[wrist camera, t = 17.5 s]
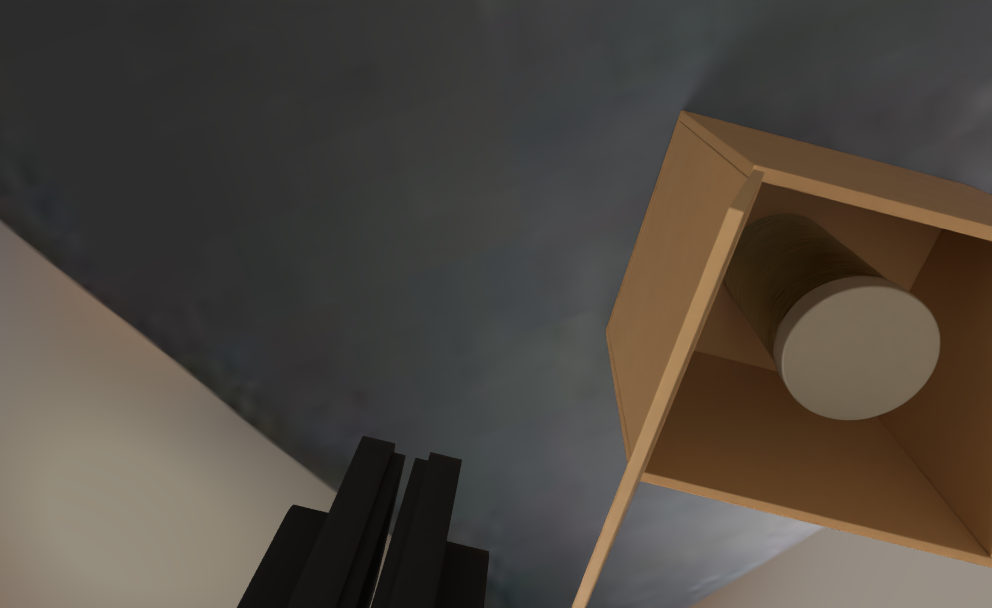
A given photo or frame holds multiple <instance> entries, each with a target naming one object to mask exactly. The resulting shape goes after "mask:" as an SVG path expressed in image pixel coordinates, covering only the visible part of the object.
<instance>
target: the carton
mask: <svg viewBox="0 0 992 608" xmlns="http://www.w3.org/2000/svg"><path fill="white" fill-rule="evenodd" d="M754 169H755V170H759V171H762V172H764V176H763V179H762V181H761V183H760V186H759V188H758V191H757V193H756V196H755V198H754V201H753V203H752V206H751V208H750V211H749V213H748V215H747V218H746V220H745V223H744V225H743V228H742V230H741V233H742V231H743V229H744V228H746V227H747V226H748V225H750V224H752V223H753V222H755V221H757V220H759V219H761V218H764V217H767V216H770V215H775V214H784V213H787V214H796V215H801V216H804V217H807V218H809V219H811V220H813V221H814V222H816V223H817V224H819V225H820V226H821V227H822V228H824V229H825V230H826V231H828V232H829V233H830V234H831V235H833V236H834V237H835V238H836V239H838V240H839V241H840V242H841V243H843V244H844V245H845V246H847V247H848V248H849V249H850V250H852V251H853V252H854V253H855V254H857V255H858V256H859V257H861V258H862V259H863V260H864V261H866V262H867V263H868V264H869V265H871V266H872V267H873V268H874V269H876V270H877V271H878V272H880V273H881V274H882V275H883V276H885V277H886V278H887V279H888V280H890V281H892V282H894V283H896V284H898V285H900V286H902V287H903V288H905V289H906V290H908V291H909V292H910V293H912V294H913V295H914V296H915V297H917V298H918V299H919V300H921V301H922V302H923V303H924V304H925V305H926V306H927V307H928V309H929V310H930V311H931V313H932V314H933V316H934V318H935V320H936V322H937V325H938V328H939V333H940V353H939V358H938V361H937V364H936V367H935V369H934V371H933V373H932V375H931V376H930V378H929V379H928V381H927V382H926V383H925V385H924V386H923V387H922V388H921V389H920V390H919V391H918V392H917V393H916V394H915V395H914V396H913V397H912V398H910V399H909V400H908V401H906V402H905V403H904V404H902V405H900V406H899V407H897V408H895V409H893V410H891V411H889V412H887V413H884V414H881V415H879V416H875V417H871V418H867V419H860V420H837V419H831V418H827V417H824V416H821V415H818V414H816V413H813V412H811V411H809V410H808V409H806V408H805V407H803V406H802V405H801V404H800V403H798V402H797V401H796V400H795V399H794V397H793V396H792V395H791V394H790V392H789V390H788V389H787V387H786V386H785V384H784V383H783V381H782V379H781V378H780V376H779V374H778V372H777V369H776V366H775V363H774V361H773V360H772V358H771V357H770V355H769V354H768V352H767V350H766V349H765V347H764V346H763V344H762V343H761V341H760V339H759V338H758V336H757V335H756V333H755V332H754V330H753V329H752V327H751V325H750V324H749V322H748V321H747V319H746V318H745V316H744V314H743V313H742V311H741V310H740V308H739V307H738V305H737V303H736V302H735V300H734V299H733V297H732V296H731V294H730V292H729V291H728V289H727V287H726V284H725V280H724V275H725V273H726V270H727V268H728V265H729V263H730V260H731V258H732V255H733V253H734V250H735V248H736V245H737V243H738V241H739V238H740V236H741V233H740V235H739V238H738V240H737V243H736V245H735V248H734V250H733V252H732V255H731V257H730V260H729V262H728V265H727V267H726V270H725V272H724V275H723V277H722V280H721V282H720V285H719V287H718V289H717V292H716V294H715V297H714V299H713V302H712V304H711V307H710V309H709V312H708V314H707V317H706V319H705V321H704V324H703V326H702V329H701V331H700V334H699V336H698V339H697V341H696V344H695V346H694V349H693V351H692V354H691V356H690V358H689V361H688V363H687V366H686V368H685V371H684V373H683V376H682V378H681V381H680V383H679V386H678V388H677V391H676V393H675V395H674V398H673V400H672V403H671V405H670V408H669V410H668V413H667V415H666V418H665V420H664V423H663V425H662V427H661V430H660V432H659V435H658V437H657V440H656V442H655V445H654V447H653V450H652V452H651V455H650V457H649V460H648V462H647V464H646V467H645V469H644V472H643V474H642V477H641V479H640V481H643V482H647V483H651V484H655V485H659V486H663V487H667V488H671V489H675V490H679V491H683V492H687V493H691V494H696V495H700V496H704V497H708V498H712V499H716V500H720V501H724V502H728V503H732V504H736V505H740V506H744V507H748V508H752V509H756V510H760V511H764V512H768V513H772V514H776V515H780V516H784V517H788V518H793V519H797V520H801V521H805V522H809V523H813V524H817V525H821V526H825V527H829V528H833V529H837V530H841V531H845V532H849V533H853V534H857V535H861V536H865V537H870V538H873V539H877V540H881V541H885V542H890V543H894V544H898V545H902V546H906V547H910V548H914V549H918V550H922V551H926V552H930V553H934V554H938V555H942V556H946V557H950V558H954V559H958V560H962V561H967V562H971V563H975V564H978V565H983V566H987V567H991V568H992V195H991V194H989V193H987V192H984V191H982V190H979V189H977V188H974V187H972V186H969V185H966V184H962V183H959V182H955V181H951V180H947V179H943V178H939V177H936V176H932V175H928V174H924V173H920V172H916V171H913V170H909V169H905V168H901V167H897V166H894V165H890V164H886V163H882V162H878V161H874V160H871V159H867V158H863V157H859V156H855V155H852V154H848V153H844V152H840V151H836V150H832V149H829V148H825V147H821V146H817V145H813V144H810V143H806V142H802V141H798V140H794V139H790V138H787V137H783V136H779V135H775V134H771V133H768V132H764V131H760V130H756V129H752V128H748V127H745V126H741V125H737V124H733V123H729V122H725V121H722V120H718V119H714V118H710V117H706V116H703V115H699V114H695V113H691V112H687V111H683V110H681V112H680V115H679V118H678V121H677V124H676V126H675V129H674V132H673V135H672V138H671V141H670V144H669V147H668V150H667V153H666V156H665V159H664V162H663V164H662V167H661V170H660V173H659V176H658V179H657V182H656V185H655V188H654V191H653V194H652V197H651V200H650V203H649V205H648V208H647V211H646V214H645V217H644V220H643V223H642V226H641V229H640V232H639V235H638V238H637V241H636V243H635V246H634V249H633V252H632V255H631V258H630V261H629V264H628V267H627V270H626V273H625V276H624V279H623V281H622V284H621V287H620V290H619V293H618V296H617V299H616V302H615V305H614V308H613V311H612V314H611V317H610V319H609V322H608V325H607V328H606V331H605V333H606V339H607V345H608V351H609V357H610V362H611V368H612V374H613V380H614V386H615V392H616V398H617V404H618V410H619V416H620V422H621V428H622V434H623V440H624V446H625V452H626V458H627V463H628V462H629V460H630V457H631V455H632V452H633V449H634V447H635V444H636V442H637V439H638V437H639V434H640V432H641V429H642V427H643V424H644V421H645V419H646V416H647V414H648V411H649V409H650V406H651V404H652V401H653V398H654V396H655V393H656V391H657V388H658V386H659V383H660V381H661V378H662V375H663V373H664V370H665V368H666V365H667V363H668V360H669V358H670V355H671V352H672V350H673V347H674V345H675V342H676V340H677V337H678V335H679V332H680V330H681V327H682V324H683V322H684V319H685V317H686V314H687V312H688V309H689V307H690V304H691V301H692V299H693V296H694V294H695V291H696V289H697V286H698V284H699V281H700V278H701V276H702V273H703V271H704V268H705V266H706V263H707V261H708V258H709V256H710V253H711V250H712V248H713V245H714V243H715V240H716V238H717V235H718V233H719V230H720V227H721V225H722V222H723V220H724V217H725V215H726V212H727V210H728V207H729V206H730V204H731V203H732V201H733V200H734V198H735V197H736V195H737V194H738V192H739V191H740V189H741V188H742V186H743V185H744V183H745V182H746V180H747V179H748V177H749V176H750V174H751V172H752V171H753V170H754Z"/></svg>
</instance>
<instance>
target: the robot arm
mask: <svg viewBox="0 0 992 608" xmlns="http://www.w3.org/2000/svg"><path fill="white" fill-rule="evenodd" d="M394 450H395V443H391V442H387V441H383V440H378V439H374V438H370V437H366V436H363V437H362V439H361V441H360V443H359V445H358V448H357V450H356V452H355V454H354V457H353V459H352V461H351V463H350V466H349V468H348V470H347V473H346V475H345V477H344V479H343V482H342V484H341V486H340V488H339V491H338V493H337V495H336V498H335V500H334V502H333V504H332V506H331V509H330V511H329V513H327V512H322V511H318V510H314V509H310V508H305V507H301V506H297V505H293V506H291V508H290V509H289V511H288V512H287V514H286V516H285V518H284V520H283V521H282V523H281V525H280V527H279V529H278V531H277V533H276V534H275V536H274V538H273V540H272V542H271V544H270V546H269V548H268V550H267V552H266V553H265V556H264V557H263V559H262V561H261V563H260V565H259V567H258V569H257V570H256V573H255V574H254V576H253V578H252V580H251V582H250V584H249V586H248V587H247V589H246V591H245V593H244V595H243V597H242V599H241V601H240V603H239V605H238V606H237V608H369V607H370V604H371V601H372V598H373V594H374V591H375V586H376V583H377V579H378V575H379V571H380V566H381V562H382V557H383V553H384V549H385V544H386V540H387V536H388V531H389V527H390V523H391V518H392V514H393V509H394V505H395V501H396V496H397V492H398V487H399V483H400V479H401V474H402V470H403V466H404V461H405V455H402V454H398V453H394ZM461 462H462V460H461V459H457V458H452V457H448V456H444V455H440V454H436V453H432V452H430V455H429V459H428V461H427V460H423V459H419V458H415V461H414V465H413V468H412V471H411V475H410V478H409V481H408V485H407V488H406V491H405V495H404V498H403V501H402V505H401V508H400V511H399V515H398V518H397V521H396V525H395V528H394V531H393V535H392V538H391V541H390V545H389V548H388V551H387V555H386V558H385V562H384V565H383V569H382V571H381V575H380V578H379V581H378V585H377V588H376V591H375V595H374V598H373V601H372V605H371V608H484V600H485V590H486V581H487V571H488V562H489V551H485V550H481V549H477V548H473V547H469V546H464V545H460V544H456V543H452V542H448V541H447V535H448V530H449V525H450V520H451V515H452V509H453V504H454V499H455V494H456V488H457V483H458V478H459V473H460V468H461Z"/></svg>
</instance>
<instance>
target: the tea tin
mask: <svg viewBox="0 0 992 608" xmlns="http://www.w3.org/2000/svg"><path fill="white" fill-rule="evenodd" d="M724 280H725V284H726V287H727V289H728V291H729V292H730V294H731V296H732V297H733V299H734V300H735V302H736V303H737V305H738V307H739V308H740V310H741V311H742V313H743V314H744V316H745V318H746V319H747V321H748V322H749V324H750V325H751V327H752V329H753V330H754V332H755V333H756V335H757V336H758V338H759V339H760V341H761V343H762V344H763V346H764V347H765V349H766V350H767V352H768V354H769V355H770V357H771V358H772V360H773V361H774V363H775V366H776V369H777V372H778V374H779V376H780V378H781V379H782V381H783V383H784V384H785V386H786V387H787V389H788V390H789V392H790V394H791V395H792V396H793V397H794V399H795V400H796V401H797V402H798V403H800V404H801V405H802V406H803V407H805V408H806V409H808V410H809V411H811V412H813V413H816V414H818V415H821V416H824V417H827V418H831V419H837V420H860V419H867V418H871V417H875V416H879V415H881V414H884V413H887V412H889V411H891V410H893V409H895V408H897V407H899V406H900V405H902V404H904V403H905V402H906V401H908V400H909V399H910V398H912V397H913V396H914V395H915V394H916V393H917V392H918V391H919V390H920V389H921V388H922V387H923V386H924V385H925V383H926V382H927V381H928V379H929V378H930V376H931V375H932V373H933V371H934V369H935V367H936V364H937V361H938V358H939V353H940V333H939V328H938V325H937V322H936V320H935V318H934V316H933V314H932V313H931V311H930V310H929V309H928V307H927V306H926V305H925V304H924V303H923V302H922V301H921V300H919V299H918V298H917V297H915V296H914V295H913V294H912V293H910V292H909V291H908V290H906V289H905V288H903V287H902V286H900V285H898V284H896V283H894V282H892V281H890V280H888V279H887V278H886V277H885V276H883V275H882V274H881V273H880V272H878V271H877V270H876V269H874V268H873V267H872V266H871V265H869V264H868V263H867V262H866V261H864V260H863V259H862V258H861V257H859V256H858V255H857V254H855V253H854V252H853V251H852V250H850V249H849V248H848V247H847V246H845V245H844V244H843V243H841V242H840V241H839V240H838V239H836V238H835V237H834V236H833V235H831V234H830V233H829V232H828V231H826V230H825V229H824V228H822V227H821V226H820V225H819V224H817V223H816V222H814V221H813V220H811V219H809V218H807V217H804V216H801V215H796V214H787V213H784V214H775V215H770V216H767V217H764V218H761V219H759V220H757V221H755V222H753V223H752V224H750V225H748V226H747V227H746V228H744V229H743V231H742V233H741V236H740V238H739V241H738V243H737V245H736V248H735V250H734V253H733V255H732V258H731V260H730V263H729V265H728V268H727V270H726V273H725V275H724Z"/></svg>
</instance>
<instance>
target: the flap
mask: <svg viewBox="0 0 992 608" xmlns="http://www.w3.org/2000/svg"><path fill="white" fill-rule="evenodd" d="M763 176H764V172H762V171H759V170H755V169H754V170H753V171H752V172H751V174H750V176H749V177H748V179H747V180H746V182H745V183H744V185H743V186H742V188H741V189H740V191H739V192H738V194H737V195H736V197H735V198H734V200H733V201H732V203H731V204H730V206H729V207H728V210H727V212H726V215H725V217H724V220H723V222H722V225H721V227H720V230H719V233H718V235H717V238H716V240H715V243H714V245H713V248H712V250H711V253H710V256H709V258H708V261H707V263H706V266H705V268H704V271H703V273H702V276H701V278H700V281H699V284H698V286H697V289H696V291H695V294H694V296H693V299H692V301H691V304H690V307H689V309H688V312H687V314H686V317H685V319H684V322H683V324H682V327H681V330H680V332H679V335H678V337H677V340H676V342H675V345H674V347H673V350H672V352H671V355H670V358H669V360H668V363H667V365H666V368H665V370H664V373H663V375H662V378H661V381H660V383H659V386H658V388H657V391H656V393H655V396H654V398H653V401H652V404H651V406H650V409H649V411H648V414H647V416H646V419H645V421H644V424H643V427H642V429H641V432H640V434H639V437H638V439H637V442H636V444H635V447H634V449H633V452H632V455H631V457H630V460H629V462H628V465H627V467H626V470H625V472H624V475H623V478H622V480H621V483H620V485H619V488H618V490H617V493H616V495H615V498H614V501H613V503H612V506H611V508H610V511H609V513H608V516H607V518H606V521H605V524H604V526H603V529H602V531H601V534H600V536H599V539H598V541H597V544H596V546H595V549H594V552H593V554H592V557H591V559H590V562H589V564H588V567H587V569H586V572H585V575H584V577H583V580H582V582H581V585H580V587H579V590H578V592H577V595H576V598H575V600H574V603H573V605H572V608H586V606H587V604H588V601H589V599H590V597H591V594H592V592H593V590H594V587H595V585H596V583H597V580H598V578H599V576H600V573H601V571H602V569H603V566H604V564H605V562H606V559H607V557H608V555H609V552H610V550H611V548H612V545H613V543H614V541H615V538H616V536H617V534H618V531H619V529H620V527H621V524H622V522H623V520H624V517H625V515H626V513H627V510H628V508H629V506H630V503H631V501H632V499H633V496H634V494H635V492H636V489H637V487H638V484H639V482H640V479H641V477H642V474H643V472H644V469H645V467H646V464H647V462H648V460H649V457H650V455H651V452H652V450H653V447H654V445H655V442H656V440H657V437H658V435H659V432H660V430H661V427H662V425H663V423H664V420H665V418H666V415H667V413H668V410H669V408H670V405H671V403H672V400H673V398H674V395H675V393H676V391H677V388H678V386H679V383H680V381H681V378H682V376H683V373H684V371H685V368H686V366H687V363H688V361H689V358H690V356H691V354H692V351H693V349H694V346H695V344H696V341H697V339H698V336H699V334H700V331H701V329H702V326H703V324H704V321H705V319H706V317H707V314H708V312H709V309H710V307H711V304H712V302H713V299H714V297H715V294H716V292H717V289H718V287H719V285H720V282H721V280H722V277H723V275H724V272H725V270H726V267H727V265H728V262H729V260H730V257H731V255H732V252H733V250H734V248H735V245H736V243H737V240H738V238H739V235H740V233H741V230H742V228H743V225H744V223H745V220H746V218H747V215H748V213H749V211H750V208H751V206H752V203H753V201H754V198H755V196H756V193H757V191H758V188H759V186H760V183H761V181H762V179H763Z"/></svg>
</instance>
